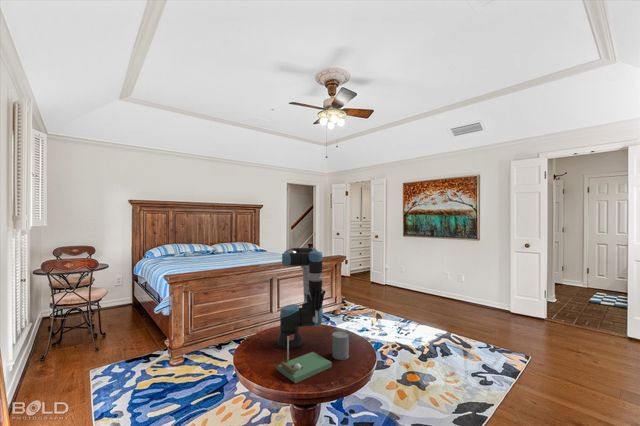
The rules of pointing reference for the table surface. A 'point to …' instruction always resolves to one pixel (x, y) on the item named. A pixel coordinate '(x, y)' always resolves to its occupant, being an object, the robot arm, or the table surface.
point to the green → (303, 365)
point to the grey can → (340, 345)
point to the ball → (297, 367)
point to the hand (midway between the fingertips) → (315, 321)
